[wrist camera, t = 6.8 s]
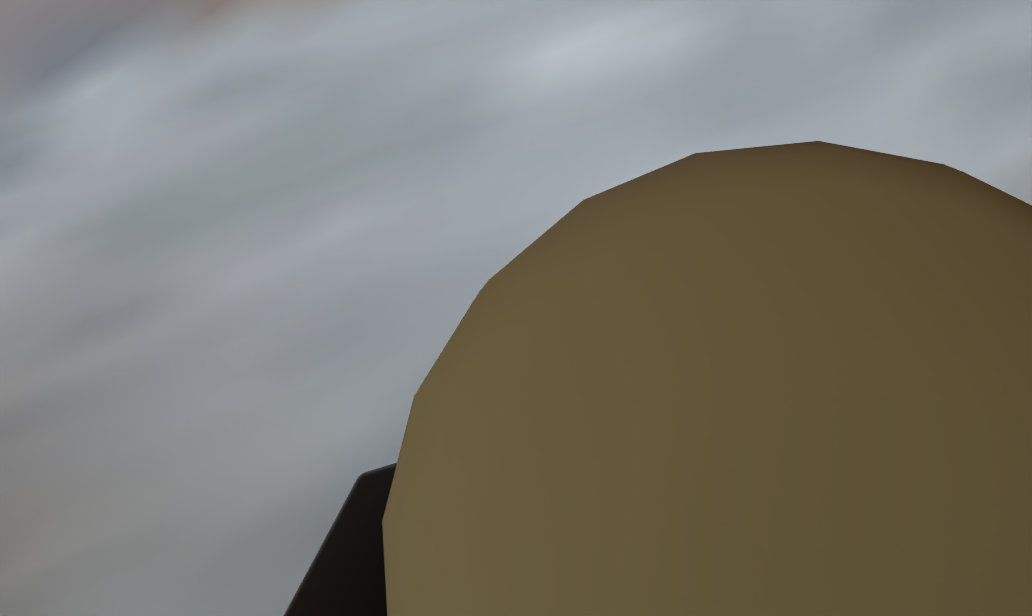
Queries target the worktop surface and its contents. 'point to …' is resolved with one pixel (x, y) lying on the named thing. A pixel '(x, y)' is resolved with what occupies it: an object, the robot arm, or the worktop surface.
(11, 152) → the worktop surface
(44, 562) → the worktop surface
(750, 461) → the cork
